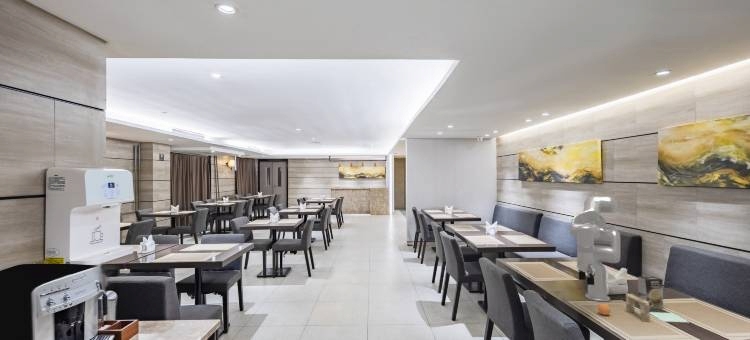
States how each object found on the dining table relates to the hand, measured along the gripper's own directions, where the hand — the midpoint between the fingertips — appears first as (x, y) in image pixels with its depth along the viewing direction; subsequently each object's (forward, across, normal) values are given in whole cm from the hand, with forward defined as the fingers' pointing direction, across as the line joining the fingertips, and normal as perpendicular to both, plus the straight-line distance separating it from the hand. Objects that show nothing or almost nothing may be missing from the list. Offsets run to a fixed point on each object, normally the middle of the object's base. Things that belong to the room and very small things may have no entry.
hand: (586, 282), depth 183 cm
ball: (+14, -1, +9) cm, 17 cm away
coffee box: (+17, -16, +40) cm, 46 cm away
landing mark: (+17, -1, +39) cm, 42 cm away
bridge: (+17, -1, +25) cm, 30 cm away
